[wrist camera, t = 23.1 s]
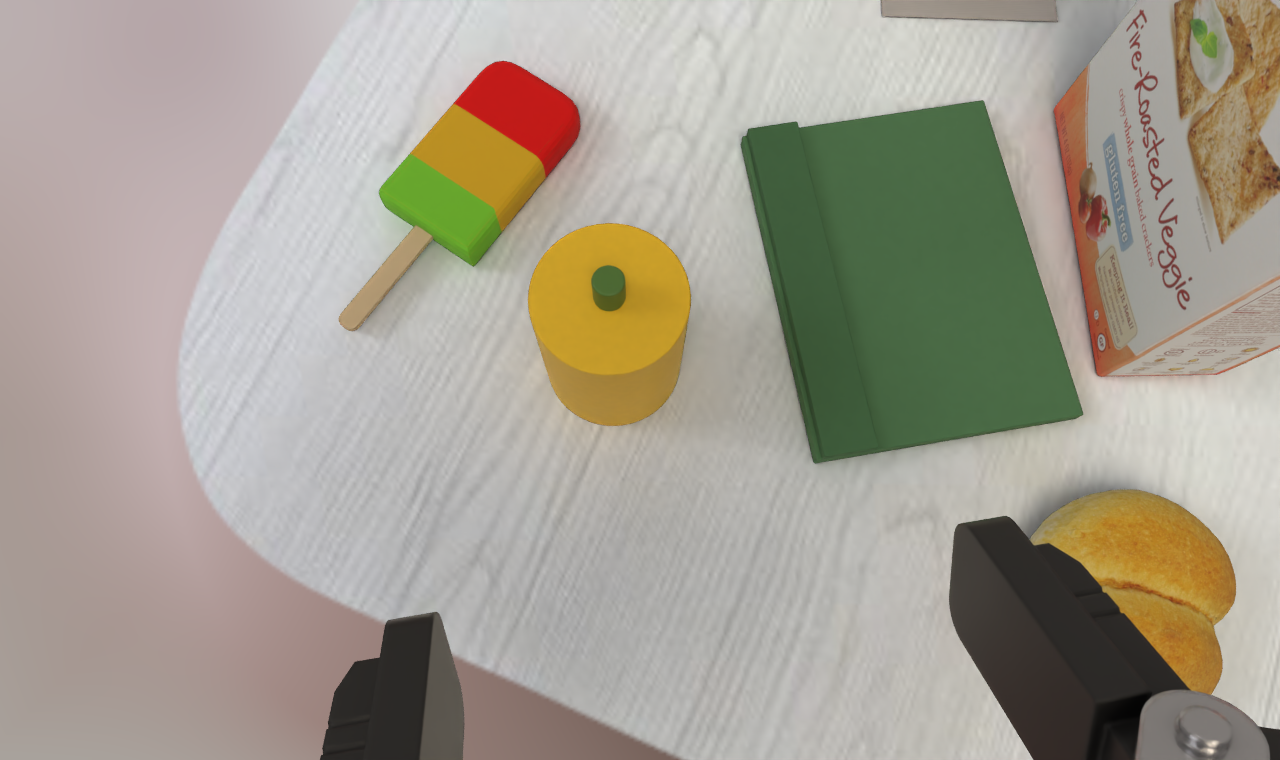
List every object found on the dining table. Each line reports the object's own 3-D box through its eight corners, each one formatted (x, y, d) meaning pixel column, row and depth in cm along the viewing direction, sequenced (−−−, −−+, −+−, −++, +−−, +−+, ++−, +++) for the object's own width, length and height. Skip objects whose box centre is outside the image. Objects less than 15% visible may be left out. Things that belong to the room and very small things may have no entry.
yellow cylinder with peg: (557, 436, 40) (534, 374, 31) (539, 310, 41) (512, 215, 32) (690, 414, 40) (708, 347, 31) (667, 290, 42) (677, 191, 33)
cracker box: (1041, 110, 45) (1374, -324, 25) (1162, 109, 45) (1594, -326, 25) (1085, 383, 41) (1525, 131, 21) (1218, 380, 41) (1785, 127, 21)
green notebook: (813, 463, 40) (819, 457, 38) (740, 144, 44) (743, 128, 43) (1075, 418, 40) (1091, 411, 39) (977, 108, 45) (988, 92, 43)
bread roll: (1224, 534, 39) (1290, 522, 35) (1180, 741, 37) (1245, 753, 33) (1038, 464, 40) (1082, 444, 36) (984, 662, 37) (1024, 664, 33)
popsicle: (592, 127, 44) (590, 104, 42) (397, 367, 41) (386, 354, 39) (502, 71, 45) (496, 46, 43) (304, 301, 42) (289, 286, 40)
